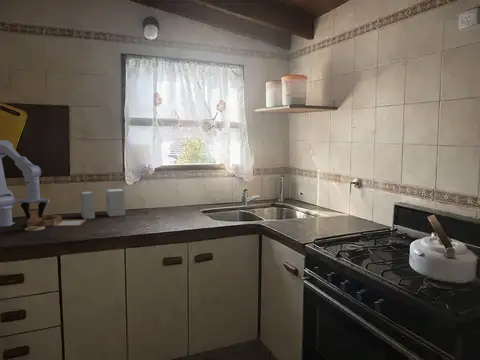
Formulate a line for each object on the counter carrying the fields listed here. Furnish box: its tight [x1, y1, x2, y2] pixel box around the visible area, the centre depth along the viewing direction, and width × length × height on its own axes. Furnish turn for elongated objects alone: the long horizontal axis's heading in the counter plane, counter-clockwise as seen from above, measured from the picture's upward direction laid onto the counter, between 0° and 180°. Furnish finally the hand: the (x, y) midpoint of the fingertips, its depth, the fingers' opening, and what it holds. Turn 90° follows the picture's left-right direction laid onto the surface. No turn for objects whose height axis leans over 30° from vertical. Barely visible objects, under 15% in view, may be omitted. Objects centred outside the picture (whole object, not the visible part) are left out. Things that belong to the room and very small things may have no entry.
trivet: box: [24, 226, 46, 232], centre depth 195 cm, size 9×9×1 cm
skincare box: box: [79, 191, 96, 220], centre depth 222 cm, size 8×6×15 cm
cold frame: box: [26, 214, 63, 228], centre depth 205 cm, size 13×13×4 cm
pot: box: [28, 207, 42, 223], centre depth 194 cm, size 6×6×6 cm
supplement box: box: [105, 188, 126, 217], centre depth 232 cm, size 9×9×15 cm
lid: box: [54, 219, 87, 227], centre depth 207 cm, size 12×13×1 cm
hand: (34, 217), depth 194 cm, fingers closed on pot, 5 cm apart
